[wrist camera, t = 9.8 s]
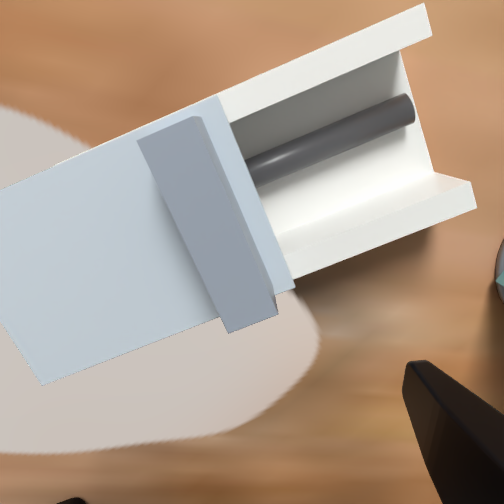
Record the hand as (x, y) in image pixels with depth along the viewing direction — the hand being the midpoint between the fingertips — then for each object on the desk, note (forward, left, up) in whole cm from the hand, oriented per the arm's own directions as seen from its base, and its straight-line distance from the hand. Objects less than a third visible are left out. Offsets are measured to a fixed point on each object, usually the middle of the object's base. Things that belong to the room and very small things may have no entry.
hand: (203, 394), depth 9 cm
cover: (-2, +2, -7) cm, 8 cm away
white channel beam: (+3, +2, -10) cm, 11 cm away
